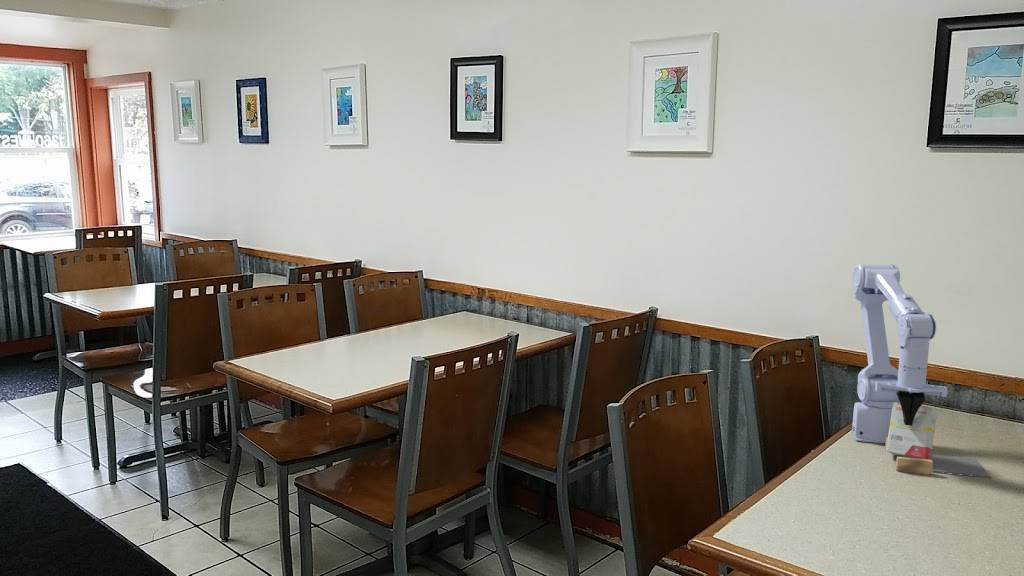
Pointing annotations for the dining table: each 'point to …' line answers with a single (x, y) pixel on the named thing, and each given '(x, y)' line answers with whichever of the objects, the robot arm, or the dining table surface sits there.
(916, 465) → the rail bay
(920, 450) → the ink box
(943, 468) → the rubber mat
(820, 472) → the dining table surface
